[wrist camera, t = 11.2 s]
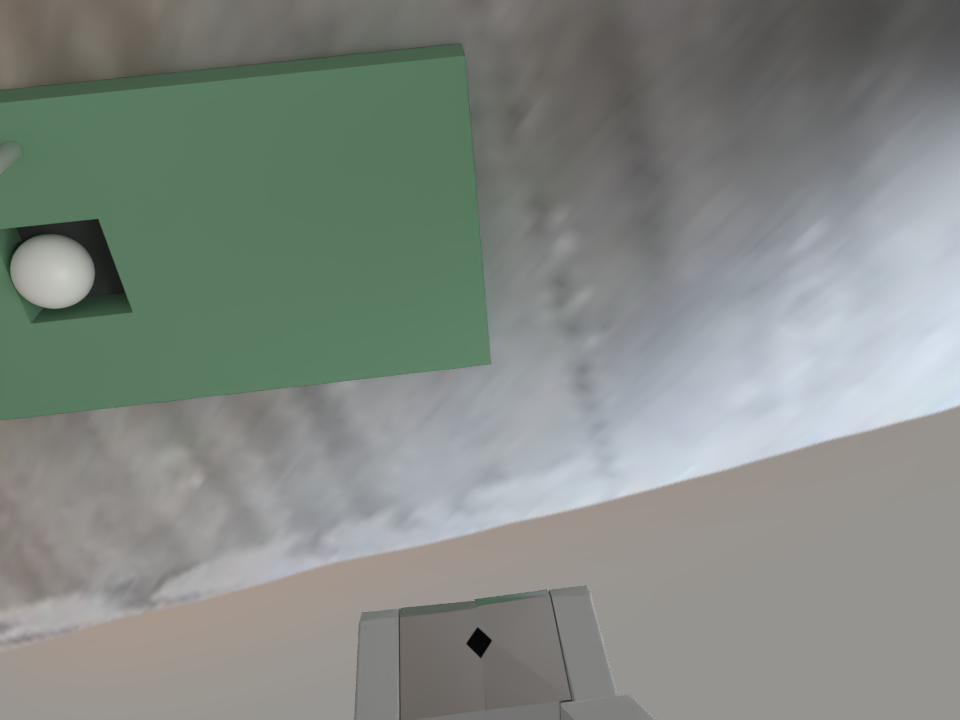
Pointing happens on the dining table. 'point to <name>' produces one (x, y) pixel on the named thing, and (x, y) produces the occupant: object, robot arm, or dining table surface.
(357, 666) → the robot arm
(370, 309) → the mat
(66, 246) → the ball
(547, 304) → the dining table surface
